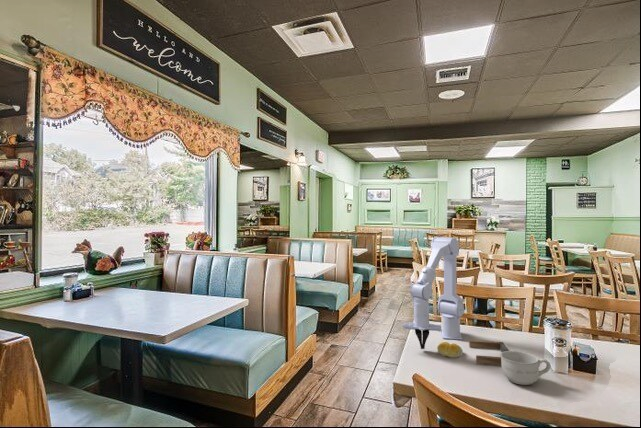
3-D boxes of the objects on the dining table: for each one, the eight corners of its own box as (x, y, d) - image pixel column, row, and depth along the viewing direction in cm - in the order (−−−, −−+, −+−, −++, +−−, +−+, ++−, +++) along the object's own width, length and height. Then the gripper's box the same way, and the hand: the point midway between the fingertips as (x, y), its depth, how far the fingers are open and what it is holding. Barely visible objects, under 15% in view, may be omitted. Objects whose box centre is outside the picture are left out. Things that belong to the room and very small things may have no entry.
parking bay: (469, 346, 137) (468, 340, 137) (503, 348, 134) (502, 341, 134) (477, 363, 121) (477, 357, 121) (515, 366, 118) (515, 359, 118)
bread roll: (441, 347, 137) (441, 337, 137) (464, 352, 131) (464, 342, 131) (433, 354, 131) (433, 344, 131) (457, 360, 125) (457, 350, 125)
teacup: (501, 384, 107) (500, 359, 107) (500, 369, 117) (500, 346, 116) (554, 394, 100) (553, 368, 100) (549, 378, 110) (548, 353, 110)
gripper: (402, 316, 131) (403, 350, 131) (441, 318, 128) (442, 353, 128) (402, 310, 138) (403, 343, 138) (440, 312, 135) (441, 346, 135)
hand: (422, 348), depth 134 cm, fingers closed
